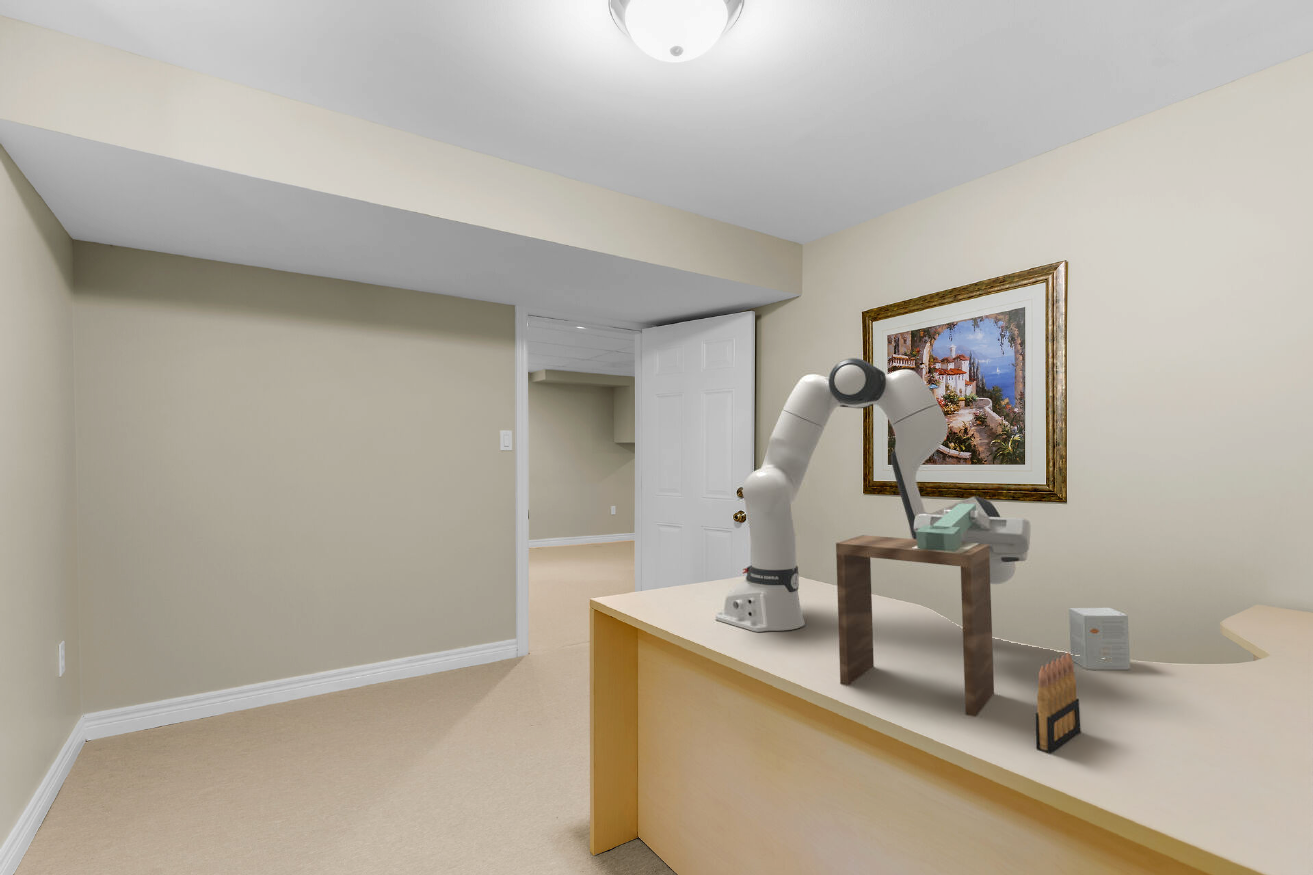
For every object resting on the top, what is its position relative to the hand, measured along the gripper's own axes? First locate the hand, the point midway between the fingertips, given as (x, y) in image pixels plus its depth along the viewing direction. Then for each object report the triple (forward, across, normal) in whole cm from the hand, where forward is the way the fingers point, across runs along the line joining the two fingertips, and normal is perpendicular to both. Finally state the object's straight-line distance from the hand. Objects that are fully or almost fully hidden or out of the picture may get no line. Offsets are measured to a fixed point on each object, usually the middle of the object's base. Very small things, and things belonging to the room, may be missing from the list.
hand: (960, 513), depth 115 cm
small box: (-36, +18, +15) cm, 43 cm away
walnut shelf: (-7, -6, +31) cm, 33 cm away
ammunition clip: (-2, +17, +35) cm, 39 cm away
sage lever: (+2, 0, +5) cm, 6 cm away
